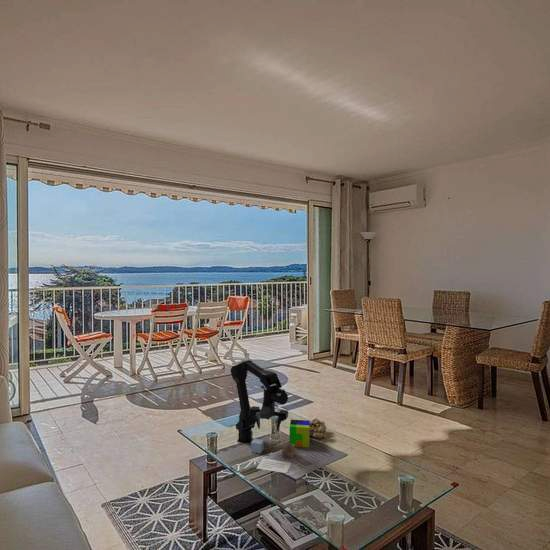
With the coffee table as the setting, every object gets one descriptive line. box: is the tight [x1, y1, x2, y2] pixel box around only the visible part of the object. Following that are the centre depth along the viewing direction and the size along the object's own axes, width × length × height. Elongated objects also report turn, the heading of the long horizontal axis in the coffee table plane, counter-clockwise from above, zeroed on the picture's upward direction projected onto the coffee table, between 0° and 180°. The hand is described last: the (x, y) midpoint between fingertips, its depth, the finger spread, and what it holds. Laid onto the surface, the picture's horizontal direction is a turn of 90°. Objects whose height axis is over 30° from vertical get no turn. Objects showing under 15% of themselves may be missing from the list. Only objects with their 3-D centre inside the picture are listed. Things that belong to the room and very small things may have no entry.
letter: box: [256, 458, 292, 474], centre depth 185 cm, size 14×10×1 cm
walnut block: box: [281, 442, 296, 459], centre depth 196 cm, size 5×5×5 cm
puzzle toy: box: [289, 419, 311, 448], centre depth 211 cm, size 10×10×10 cm
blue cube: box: [250, 438, 265, 454], centre depth 200 cm, size 5×5×5 cm
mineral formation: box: [309, 417, 327, 439], centre depth 221 cm, size 8×13×15 cm
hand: (268, 430), depth 199 cm, fingers open, 9 cm apart
